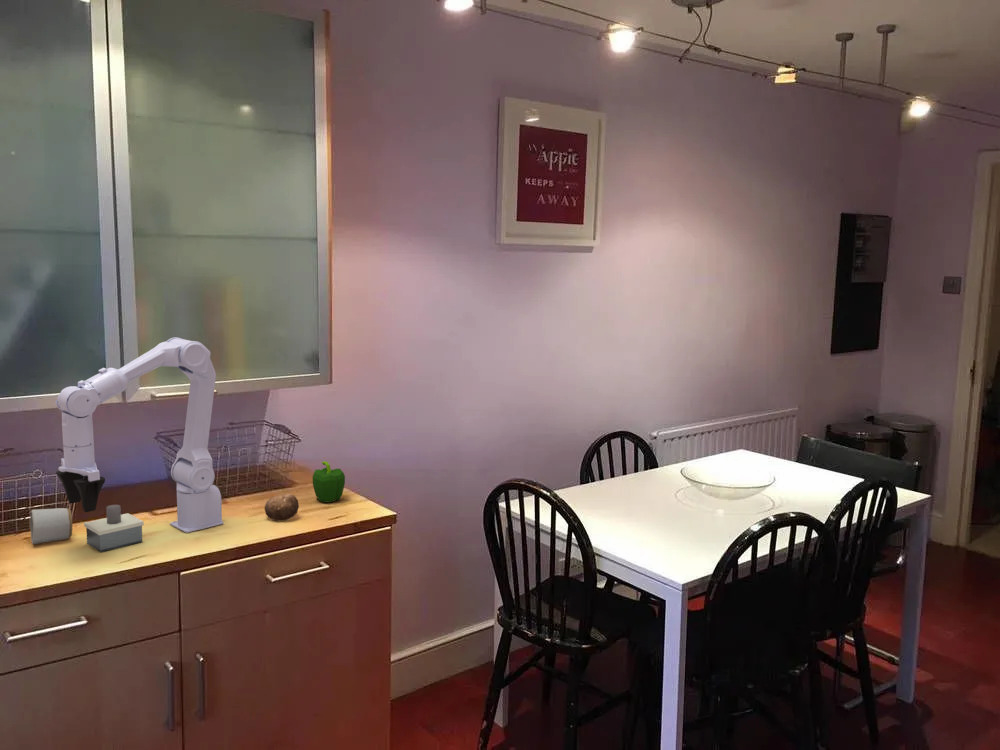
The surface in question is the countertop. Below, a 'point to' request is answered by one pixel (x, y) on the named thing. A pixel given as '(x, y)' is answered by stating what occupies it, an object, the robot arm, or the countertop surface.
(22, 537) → the countertop surface
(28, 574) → the countertop surface
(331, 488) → the bell pepper
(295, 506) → the brown potato
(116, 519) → the lid
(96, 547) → the tin
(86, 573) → the countertop surface
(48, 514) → the ceramic mug
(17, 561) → the countertop surface
